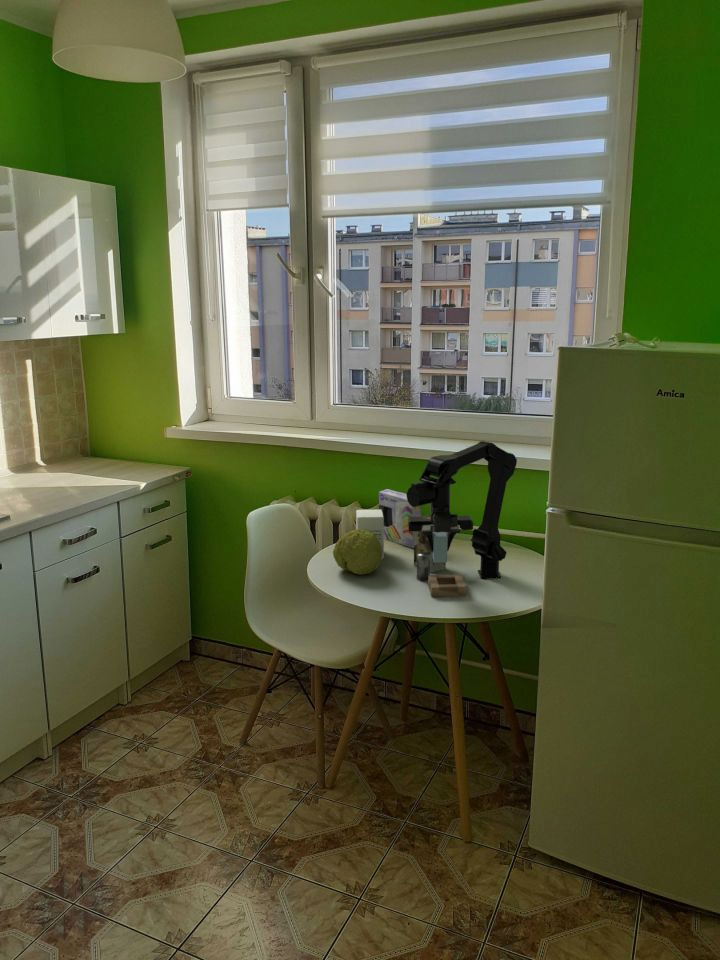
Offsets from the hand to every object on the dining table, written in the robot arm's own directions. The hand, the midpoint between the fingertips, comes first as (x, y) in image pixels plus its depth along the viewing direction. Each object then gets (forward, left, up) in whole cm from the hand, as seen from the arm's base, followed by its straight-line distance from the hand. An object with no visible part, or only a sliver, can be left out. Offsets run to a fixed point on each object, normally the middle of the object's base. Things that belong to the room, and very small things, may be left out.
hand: (440, 551), depth 228 cm
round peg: (-10, -4, -12) cm, 16 cm away
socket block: (0, +2, -12) cm, 13 cm away
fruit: (-17, -24, -13) cm, 32 cm away
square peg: (0, 0, -3) cm, 3 cm away
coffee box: (-20, -1, -13) cm, 24 cm away
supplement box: (-32, -20, -13) cm, 40 cm away
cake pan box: (-46, -9, -13) cm, 48 cm away
